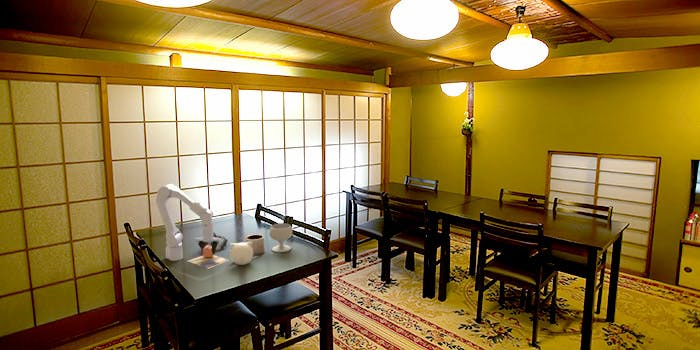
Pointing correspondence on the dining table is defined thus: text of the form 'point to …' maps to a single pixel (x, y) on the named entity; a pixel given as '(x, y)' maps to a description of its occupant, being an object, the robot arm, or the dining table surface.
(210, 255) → the strapped orange box
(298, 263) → the dining table surface
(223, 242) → the lucky cat figurine
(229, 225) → the dining table surface
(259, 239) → the planter
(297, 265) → the dining table surface
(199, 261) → the board
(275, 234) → the chalice
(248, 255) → the cat head
